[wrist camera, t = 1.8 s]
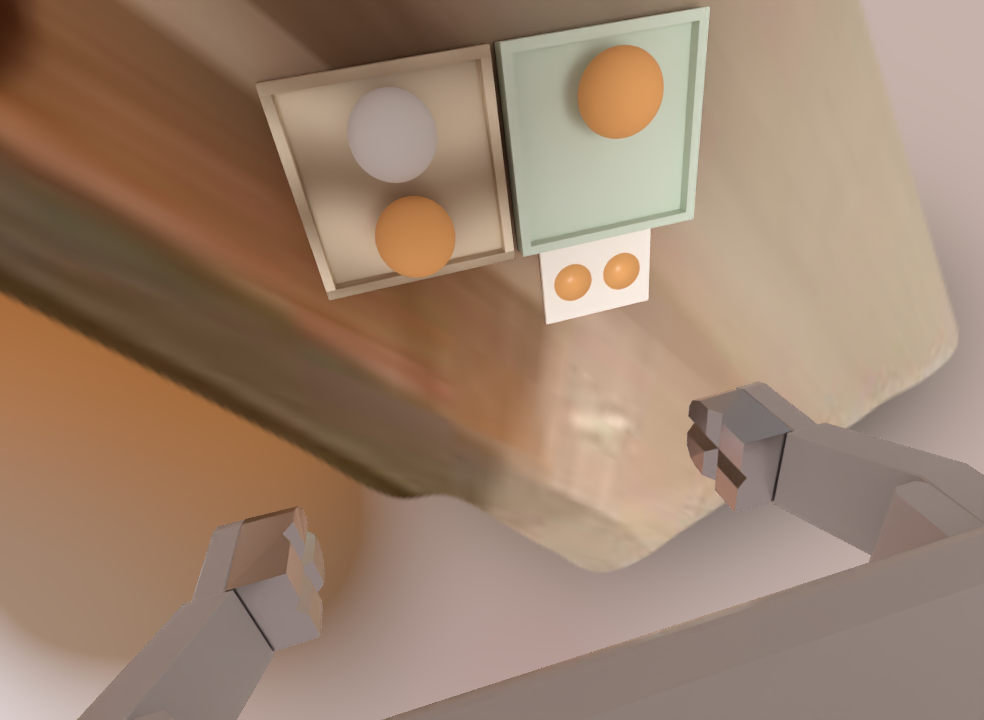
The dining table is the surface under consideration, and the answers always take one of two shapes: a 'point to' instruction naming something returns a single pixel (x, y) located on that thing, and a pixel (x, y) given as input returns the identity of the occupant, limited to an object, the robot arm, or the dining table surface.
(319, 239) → the tray birch
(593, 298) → the card
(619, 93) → the orange ball
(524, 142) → the tray sage
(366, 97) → the grey ball
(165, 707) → the robot arm
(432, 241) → the orange ball
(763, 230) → the dining table surface
